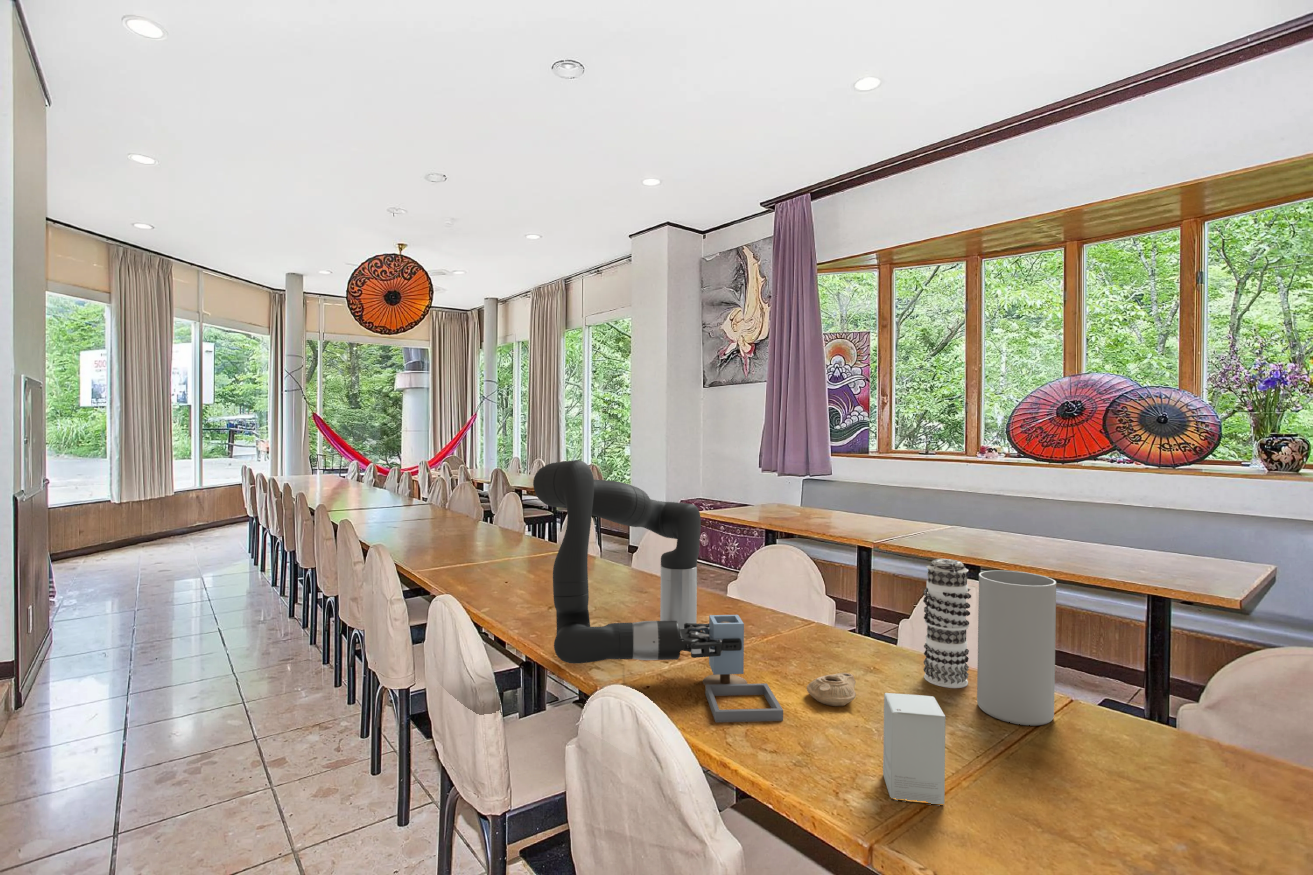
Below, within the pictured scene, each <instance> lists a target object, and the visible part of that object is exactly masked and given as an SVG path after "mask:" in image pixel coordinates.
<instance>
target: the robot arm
mask: <svg viewBox="0 0 1313 875" xmlns="http://www.w3.org/2000/svg"><path fill="white" fill-rule="evenodd" d="M532 484H533V490H534V493H535V495H536V497H537V498H538V499H539V500H540V501H541V503H543V504H544V505H547V506H548V507H552V508H560V509H561V508H562V509H566V515H567V517H566V518H567V522H566V528H565V531H564V535H563V539H562V542H561V544H560V546H559V549H558V550H557V554H556V557H555V559H554V563H553V567H552V568H553V569H552V594H553V595H552V597H553V604H554V608H555V610H556V611H555V613H556V634H555V638H554V642H553V650H554V653H555V655H556V656H557V657H558V659H560V660H561V661H563V662H564V663H568V664H575V665H576V664H588V663H594V662H602V661H605V660H606V661H607V660H639V661H666V660H667V661H673V660H674V661H675V660H679V659H680V657H681V656H680V655H681V652H682V651H683V652H689V653H690V657H691V658H693V659H695V658H696V659H698V658H709V657H713V656H721V653H722V652H723V651H739V650H741V649H742V641H741V639H739V638H732V639H721V638H713V637H712V636H711V635H709V631H710V629H709V623H697V615H698V614H697V611H698V610H697V608H698V607H697V606H698V605H697V603H698V602H697V601H698V600H697V599H698V598H697V596H698V594H697V589H698V587H697V584H698V577H697V576H698V575H697V574H698V573H697V572H698V567H697V566H698V558H699V555H700V554H699V553H700V547H701V545H700V542H701V530H702V529H701V528H702V521H701V520H702V519H701V513H700V510H699V508H698V506H696V505H695V504H692V503H686V502H675V501H660V500H656V499H651V498H650V496H649V495H648V494H647V493H646V491H644V490H643V489H641V488H639V487H637V486H634V485H631V484H628V483H625V482H623V481H617V480H607V479H606V480H605V479H595V478H594V474H593V471H592V468H590V466H589V465H588V464H587V463H586V462H585V461H583V460H578V459H577V460H576V459H575V460H574V459H573V460H567V461H566V460H564V461H557V462H551V463H549V464H546V465H543V466H541V467H540V469H538V470H537V471H536V473H535V475H534V478H533V482H532ZM593 516H594V517H598V518H601V519H603V520H606V521H610V522H613V523H616V524H619V525H623V526H627V527H632V528H633V527H634V528H644V529H647V530H648V531H650V532H653V533H655V534H656V535H659V536H661V537H664V538H668V539H675V540H676V547H675V548H674V549H673V550H670V551H666V552H664V553H662V554H661V557H660V608H659V610H660V614H659V615H660V620H642V621H637V622H613V623H612V622H611V623H608V624H606V625H603V626H591V622H590V613H589V593H590V592H589V575H588V574H589V571H588V561H589V560H588V559H589V557H588V556H589V544H590V535H591V525H592V518H593ZM712 646H715V648H713V647H712Z"/></svg>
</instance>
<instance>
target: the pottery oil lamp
mask: <svg viewBox="0 0 1313 875" xmlns="http://www.w3.org/2000/svg"><path fill="white" fill-rule="evenodd" d="M855 686H856V679H855V676H854V674H852V673H850V672H849V673H848V672H837V673H835V674H825V675H822V676H818V677H817V678H815V679H813V680H812V681H810V682H809V683H808V684H807V685H806V691H807V693H808V694H809V695H810V696H811V697H812V698H813V699H814V700H816V701H817V702H819V703H821V704H823V705H827V706H832V707H844V706H845V705H847V704H849V703H850V702H852V701H853V700H855V699H856V697H857V693H856V691H855Z"/></svg>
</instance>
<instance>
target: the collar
mask: <svg viewBox="0 0 1313 875" xmlns="http://www.w3.org/2000/svg"><path fill="white" fill-rule="evenodd" d="M708 622H709V623H708V624H709V629H710V631H709V635H711V636H712V637H713V638H721V639H732V638H739V639H741V641H742V649H741V650H739V651H723V652H722V653H721V656H713V657H708V664H709V667H710V669H711V672H712V675H713V674H714V675H718V674H732V675H744V673H745V671H744V666H745V665H744V664H745V663H744V661H745V660H744V659H745V658H744V656H745V653H744V652H745V650H744V649H745V648H744V647H745V623H744V622H743V620H742V619H741V617H740V616H739V614H717V615H716V614H710V615H709V620H708ZM721 622H730V623H721ZM712 647H713V648H715V646H712Z"/></svg>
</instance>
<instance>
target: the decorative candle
mask: <svg viewBox="0 0 1313 875" xmlns="http://www.w3.org/2000/svg"><path fill="white" fill-rule="evenodd" d="M925 567H926V568H927V579H926V588H925V589H923V596H924V597H923V600H922V601H923V603H924V604H925V606H924V607H923V608H924V609H923V613H924V616H923V619H924V623H925V624H926V626H927V627H926V633H927V634H926V636H925V643H924V645H923V648H924V649H925V650H924V652H923V655H924V656H925V657H924V659H923V664H924V667H923V672H924V675H923V678H924V680H925V681H926V682H928V683H930V684H931V685H935V686H939V687H941V688H942V687H943V688H946V689H949V688H950V689H960V688H962V689H963V688H965V687H967V686H968V685H969V680H968V678H969V672H968V671H969V668H970V666H969V664H967V663H968V662H969V656H968V655H969V652H970V650H969V649H968V640H967V630H969V627H970V621H969V620H967V619H966V618H967V617H968V616H970V615H971V612H970V611H969V610H967V609H970V608H971V604H970V603H969V602H968V601H967V600H969V599H972V595H971V594H970V593H969V592H970V591H971V588H969V584H968V572H969V568H966V567H965V565H964V563H963V562H962V561H961V560H960V561H959V560H956V559H950V558H936V559H933V560H932V561H931V562H930V564H928V565H926V566H925Z"/></svg>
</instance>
